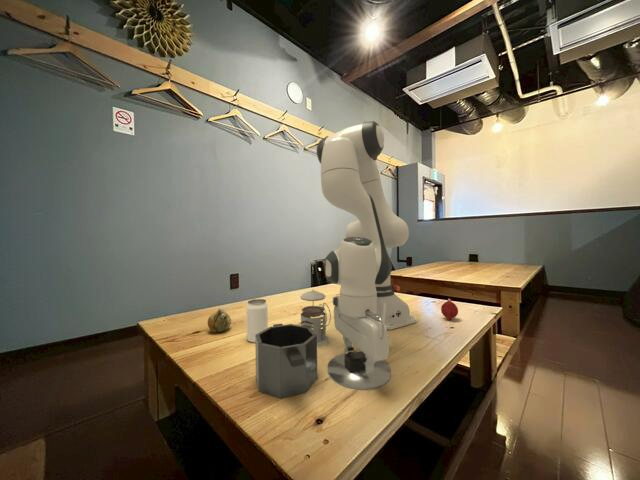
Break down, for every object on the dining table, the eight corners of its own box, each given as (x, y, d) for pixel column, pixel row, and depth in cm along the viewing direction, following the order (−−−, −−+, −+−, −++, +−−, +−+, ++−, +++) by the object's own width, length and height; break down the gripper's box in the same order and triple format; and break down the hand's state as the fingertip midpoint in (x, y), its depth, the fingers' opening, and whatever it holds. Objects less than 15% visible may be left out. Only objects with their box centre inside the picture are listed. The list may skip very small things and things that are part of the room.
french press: (314, 331, 85) (313, 258, 85) (339, 341, 77) (339, 260, 76) (291, 339, 78) (290, 260, 78) (316, 352, 70) (316, 263, 69)
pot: (301, 353, 69) (301, 317, 69) (330, 399, 50) (329, 349, 49) (252, 362, 64) (252, 323, 64) (263, 416, 45) (262, 361, 45)
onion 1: (236, 327, 89) (236, 305, 89) (222, 336, 82) (222, 311, 81) (217, 325, 91) (217, 304, 91) (202, 334, 83) (202, 310, 83)
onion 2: (461, 322, 92) (461, 301, 92) (445, 322, 93) (445, 301, 92) (453, 317, 98) (453, 297, 98) (438, 317, 98) (438, 297, 98)
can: (262, 344, 75) (262, 304, 75) (243, 342, 76) (242, 303, 76) (271, 335, 82) (270, 299, 81) (252, 334, 83) (252, 298, 83)
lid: (368, 353, 70) (368, 338, 70) (404, 382, 56) (404, 364, 56) (318, 363, 64) (318, 347, 64) (344, 398, 50) (344, 378, 50)
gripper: (396, 316, 51) (396, 382, 51) (350, 294, 70) (350, 342, 71) (369, 319, 49) (370, 389, 49) (329, 296, 68) (330, 346, 68)
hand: (358, 361), depth 60 cm, fingers open, 8 cm apart
